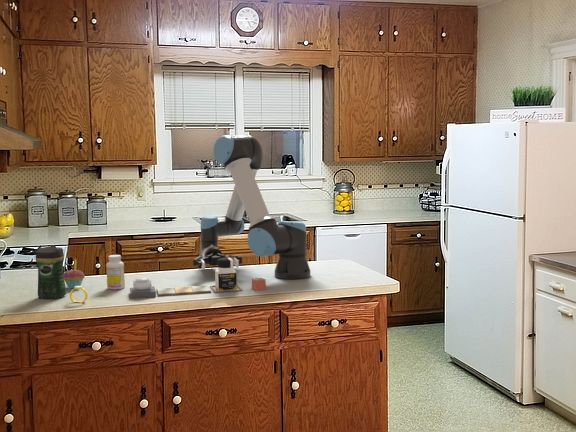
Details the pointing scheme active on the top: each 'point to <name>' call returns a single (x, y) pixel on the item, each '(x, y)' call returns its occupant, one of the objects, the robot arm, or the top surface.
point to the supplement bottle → (115, 272)
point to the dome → (142, 284)
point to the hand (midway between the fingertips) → (220, 265)
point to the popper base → (142, 293)
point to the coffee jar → (50, 272)
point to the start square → (225, 291)
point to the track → (183, 290)
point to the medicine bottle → (225, 275)
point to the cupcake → (73, 277)
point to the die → (258, 284)
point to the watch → (81, 289)
